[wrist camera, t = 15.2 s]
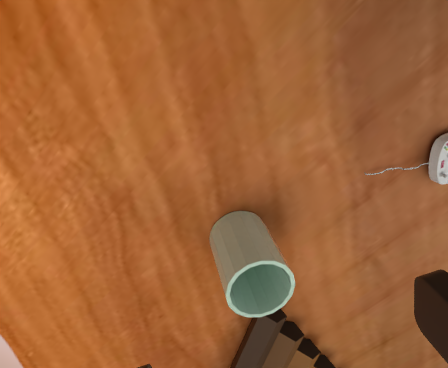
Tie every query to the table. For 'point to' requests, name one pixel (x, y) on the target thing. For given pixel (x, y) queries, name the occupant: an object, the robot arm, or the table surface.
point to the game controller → (436, 161)
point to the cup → (250, 265)
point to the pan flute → (277, 346)
